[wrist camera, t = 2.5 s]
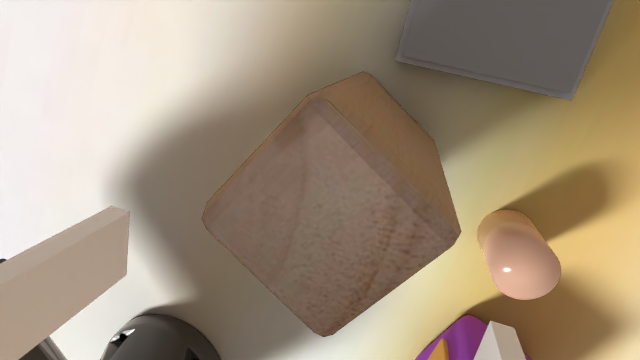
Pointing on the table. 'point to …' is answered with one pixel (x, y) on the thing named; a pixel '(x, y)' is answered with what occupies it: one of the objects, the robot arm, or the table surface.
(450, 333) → the toy camera
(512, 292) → the peach rounded capsule part
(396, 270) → the wooden block
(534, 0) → the stand
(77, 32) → the table surface
